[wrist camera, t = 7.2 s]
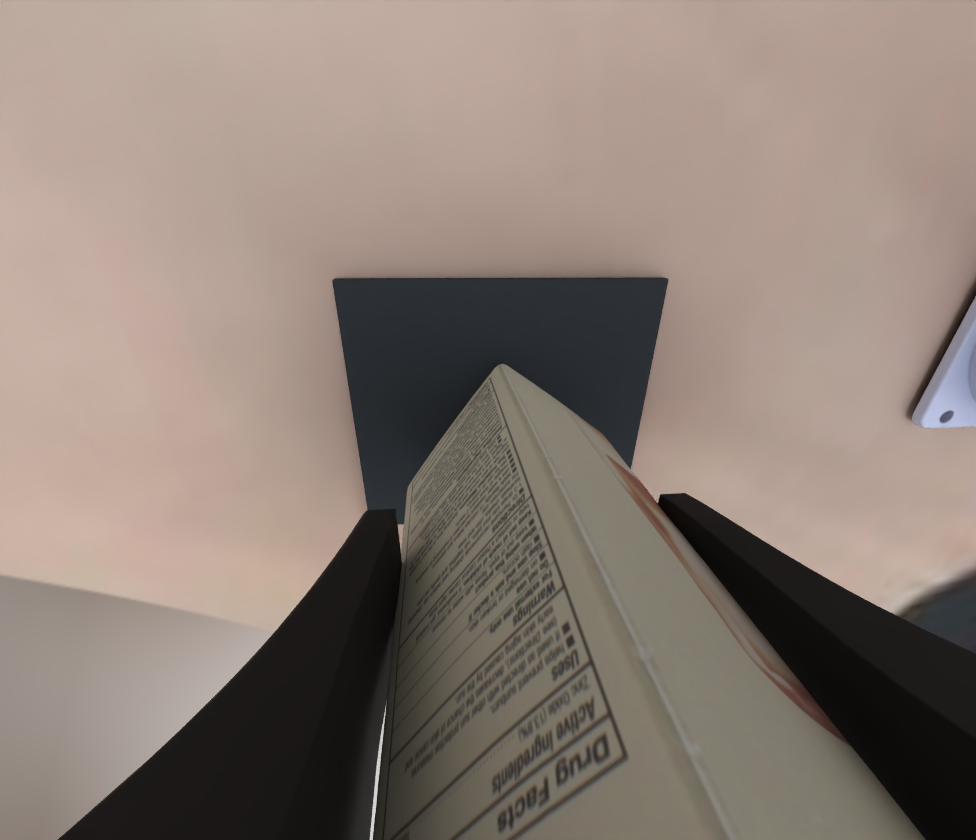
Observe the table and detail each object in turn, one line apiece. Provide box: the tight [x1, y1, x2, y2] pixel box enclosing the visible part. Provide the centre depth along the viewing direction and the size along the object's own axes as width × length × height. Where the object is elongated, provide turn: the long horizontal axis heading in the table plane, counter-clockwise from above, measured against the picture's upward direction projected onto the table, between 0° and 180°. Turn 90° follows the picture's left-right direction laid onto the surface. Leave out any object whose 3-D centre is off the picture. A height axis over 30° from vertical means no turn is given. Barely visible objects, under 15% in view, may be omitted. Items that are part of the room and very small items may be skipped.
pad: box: [333, 278, 668, 524], centre depth 14 cm, size 10×9×1 cm
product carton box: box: [373, 364, 926, 840], centre depth 8 cm, size 5×4×10 cm
